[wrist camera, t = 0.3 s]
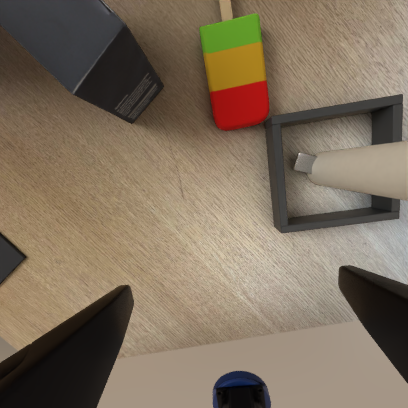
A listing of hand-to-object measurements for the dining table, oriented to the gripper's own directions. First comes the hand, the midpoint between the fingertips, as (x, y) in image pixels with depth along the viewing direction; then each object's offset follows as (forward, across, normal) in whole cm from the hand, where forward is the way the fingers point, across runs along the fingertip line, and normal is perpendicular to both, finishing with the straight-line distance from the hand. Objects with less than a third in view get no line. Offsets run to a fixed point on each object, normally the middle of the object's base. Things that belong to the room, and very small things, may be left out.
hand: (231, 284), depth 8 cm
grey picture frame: (+15, -12, -3) cm, 19 cm away
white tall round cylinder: (+15, -12, -3) cm, 19 cm away
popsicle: (+16, -3, -15) cm, 22 cm away
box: (+16, +9, -15) cm, 23 cm away
